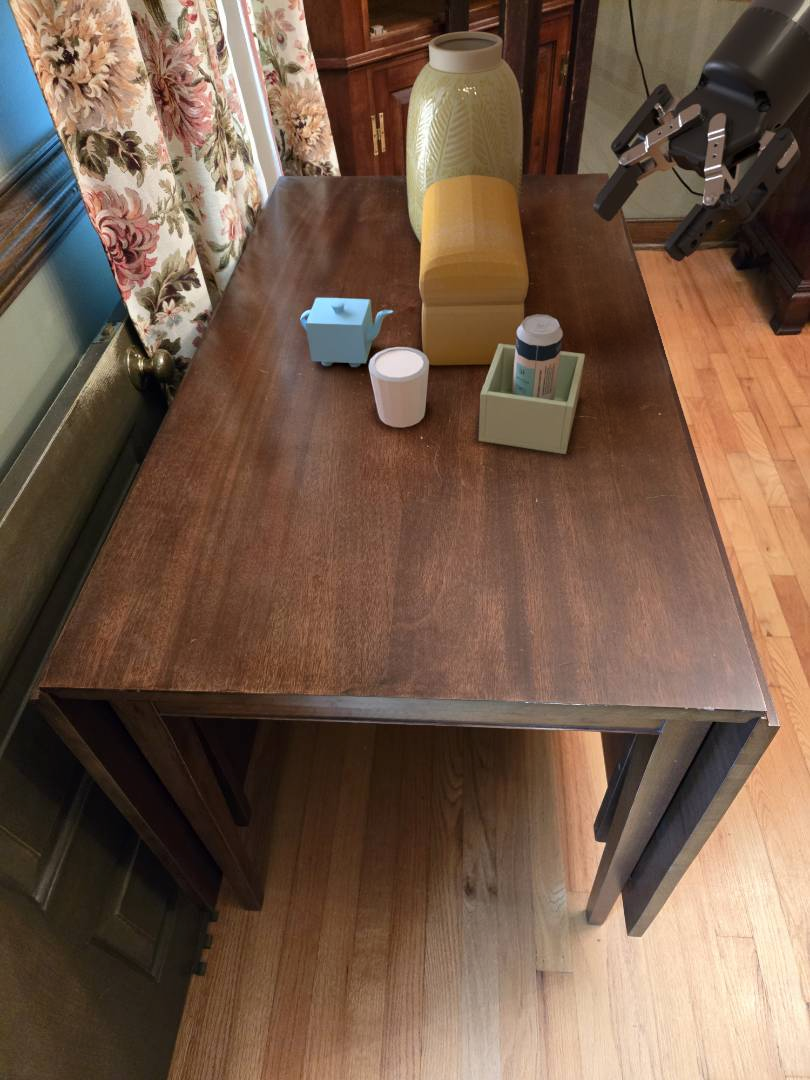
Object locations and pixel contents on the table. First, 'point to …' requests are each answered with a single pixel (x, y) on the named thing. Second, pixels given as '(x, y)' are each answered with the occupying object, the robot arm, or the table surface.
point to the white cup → (400, 385)
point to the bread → (471, 270)
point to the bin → (529, 405)
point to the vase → (463, 118)
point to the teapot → (341, 330)
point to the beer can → (537, 357)
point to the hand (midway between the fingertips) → (634, 234)
